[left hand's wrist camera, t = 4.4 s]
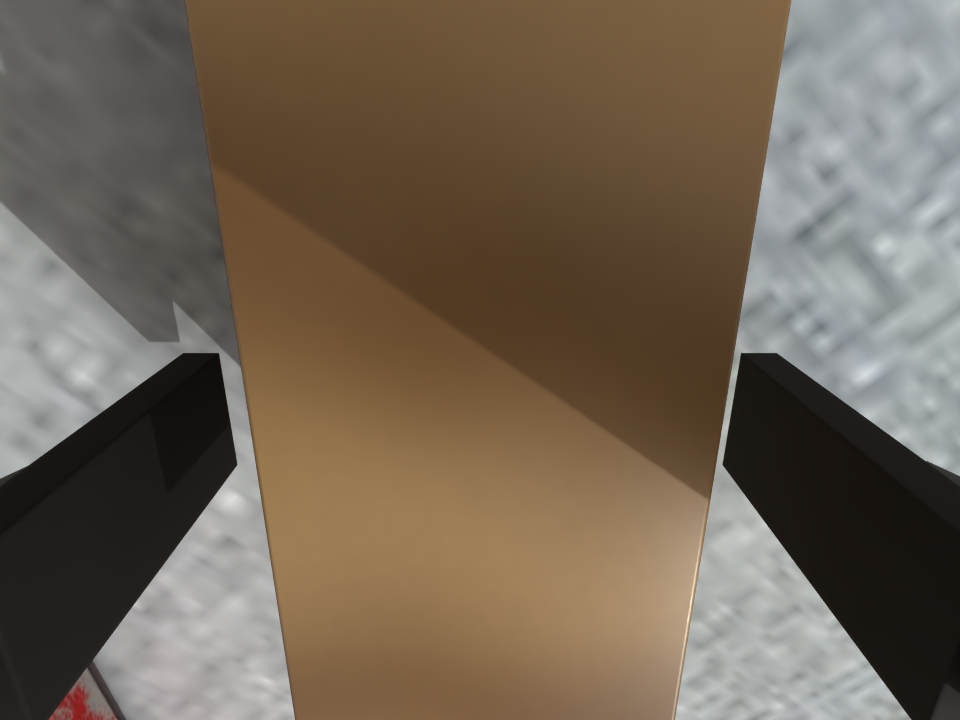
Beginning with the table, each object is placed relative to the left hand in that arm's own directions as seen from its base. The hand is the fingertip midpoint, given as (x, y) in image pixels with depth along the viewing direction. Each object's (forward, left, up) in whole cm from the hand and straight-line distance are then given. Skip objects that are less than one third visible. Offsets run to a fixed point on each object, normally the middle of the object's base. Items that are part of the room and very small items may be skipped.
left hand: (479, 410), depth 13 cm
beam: (-4, +35, -2) cm, 35 cm away
